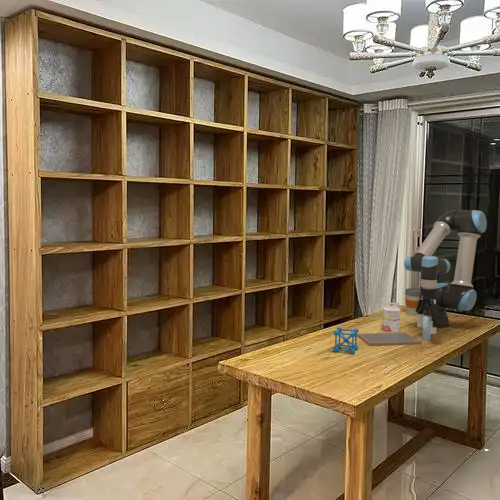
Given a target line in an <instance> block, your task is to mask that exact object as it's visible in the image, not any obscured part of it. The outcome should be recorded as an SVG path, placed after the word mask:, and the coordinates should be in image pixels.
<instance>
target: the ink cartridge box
mask: <svg viewBox="0 0 500 500" xmlns="http://www.w3.org/2000/svg"><path fill="white" fill-rule="evenodd" d="M399 305H400V303H399V302H383V307H382V320H381V321H382V322H381V323H382V324H381V329H382V331H383V332H390V333H400V327H401V326H400V325H401V309H400V308H399V307H400V306H399Z"/></svg>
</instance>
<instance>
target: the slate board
mask: <svg viewBox="0 0 500 500" xmlns="http://www.w3.org/2000/svg"><path fill="white" fill-rule="evenodd" d="M357 337H358V338H359V339H360V340H362V342H364V343H365V344H367V345H368V346H369V347H379V346H405V345H406V346H408V345H409V346H410V345H422V344H423V341H421V340H419V339H417V338H416V337H414V336H412V335H411V334H410V333H407V332H406V331H405V332H403V331H402V332H400V331H399V332H377V333H369V332H368V333H357Z"/></svg>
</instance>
